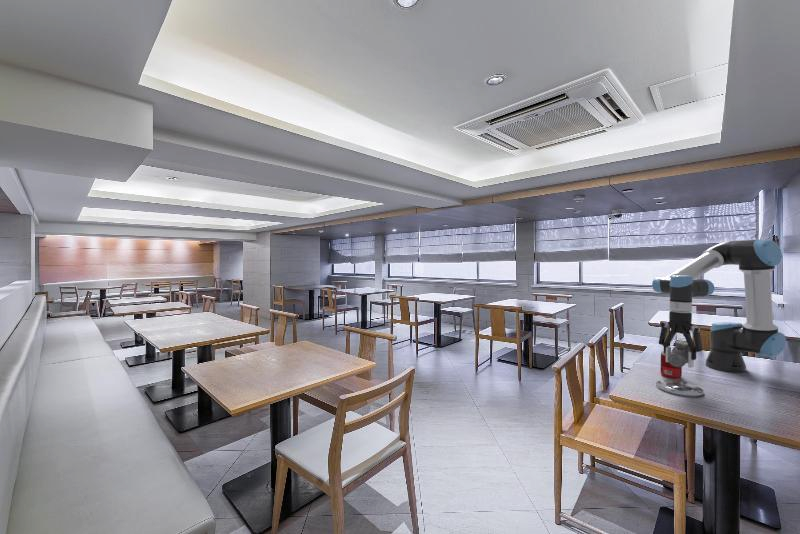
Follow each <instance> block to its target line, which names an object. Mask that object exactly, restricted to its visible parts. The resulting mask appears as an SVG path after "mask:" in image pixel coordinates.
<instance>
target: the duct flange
mask: <svg viewBox="0 0 800 534" xmlns="http://www.w3.org/2000/svg"><path fill="white" fill-rule="evenodd" d="M655 387H656V388H657V389H658V390H660V391H662V392H665V393H667V394H670V395H676V396H679V397H680V396H681V397H688V398H699V397H703V396H704V390H703V388H701V387H699V386H697V385H695V384H692V383H688V382H686V381H680V380H674V379H673V380H672V379H662V380H656V382H655Z"/></svg>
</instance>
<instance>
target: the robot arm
mask: <svg viewBox="0 0 800 534" xmlns="http://www.w3.org/2000/svg"><path fill="white" fill-rule="evenodd" d="M782 257H783V253H782V249H781V247H780V246H779V244H777V243H776V241H774V240H772V239H748V240H747V239H746V240H728V241H725V242H724V241H723V242H721V243H718V244H716V245H714V246H712V247H709V248H708V249H706V250H704V251H703V252H702V253H701V255H700V256H698V257H697V258H695V259H693V260H692V261H690V262H688V263H687V264H685V265H683V266H682V267H680V268H679V269H677V270H676V271H673V272H672V273H670V274H669V275H666V276H665V277H663V276H658V277H657V276H656V277H655V278H654V279H653V281H652V283H651V286H652V289H653V291H654V292H655V293H659V294H666V295H667V294H668V295H669V313H668V314H669V315H668V318H669V321H668V322H666V321H664V322H660V325H661V327H660V328H661V329H660V334H659V339H658V344H659V345H661V346H662V347H663V351H664V354H666V362H669V361H668V357H669V355H670V354H671V352H672V347H671V346H670V344H671V343H672V341H673V339H674V338H675V335H676V334H680V335H681V334H682V335H683V337H684V338H685V341H686V342H687V343H688V346H689V348H690V350H691V351H690V352H689V355H688V363H687V367H688V368H690V369H691V368H693V367H694V365H695V364H694V363H695V361H696V360H697V353H699V352H702V351H703V345H702V338H701V330H702V328H701V327H698V326H694V325H693V324H692V321H693V318H692V317H693V313H692V311H693V298H696V297H697V298H699V297H701V298H703V297H709V296H711V295H712V294H714V292H715V289H716V288H715V285H714V283H713V282H712V281H711V280H709V279H704V278H700V277H702V276H703V275H705V274H706V273H708V272H709V271H711V270H713V269H717V268H720V267H722V266H727V265H732V266H733V265H737V266H738V270H739V271H741V272H742V273H743V281H744V282H743V284H744V296H745V298H744V299H745V314H746V315H745V316H746V321H745V323H744V324H743V323H741V322H731V321H727V322H722V321H721V322H719V321H718V322H714V323H712V324H711V327H710V350H709V353H708V354H707V357H706V359H705V365H706V367H708V368H711V369H714V370H718V371H723V372H728V373H729V372H732V373H745V372H746V371H747V364H746V362H745V360H744V357H743V355H742V353H743V352H745V353H751V354H755V355H760V356H762V357H771V358H775V357H778V356H779V355H780V354H781V353H782V352H783V351H784V349H785V348H786V344H787V337H786V335H785V334H784V333H782V332H779V327H778V326H777V325H775V323H774V318H773V315H774V314H773V300H772V299H773V297H772V281H771V272H772V271H774V270H775V269H776V266H778V265H779V264H780V263H781V261H782ZM669 327H670V330H669V333H668V335H667V332H668V328H669ZM691 330H692V332H693V338H692V336H691V335H692V334H691V332H690V331H691ZM693 339H694V340H693Z"/></svg>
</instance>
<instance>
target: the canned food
mask: <svg viewBox="0 0 800 534" xmlns="http://www.w3.org/2000/svg"><path fill="white" fill-rule="evenodd" d="M671 353H672V351H671ZM682 368H683V366H682V367H674V366H672V365H671V364H670V363H669V362H666V354H664V350H663V351H661V353H660V374H661V376H662V377H664V378H667V379H673V380H674V379H675V380H676V379H682V375H683V374H682V370H683V369H682Z"/></svg>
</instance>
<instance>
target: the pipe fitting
mask: <svg viewBox="0 0 800 534" xmlns="http://www.w3.org/2000/svg"><path fill="white" fill-rule="evenodd" d="M674 344H675V346H674V347H673V348H671V352H672V353H671V354H670V355H669V357H668V361H669V363H670V364H671V365H672V366H674V367H682V368H683V367H684V366H686V364H688V355H689V352H690V351H691V350H690V348H689V346H688V343H687V341H686V340H681V339H680V340H679V339H678V340H677V339H676V340H675V342H674Z"/></svg>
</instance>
